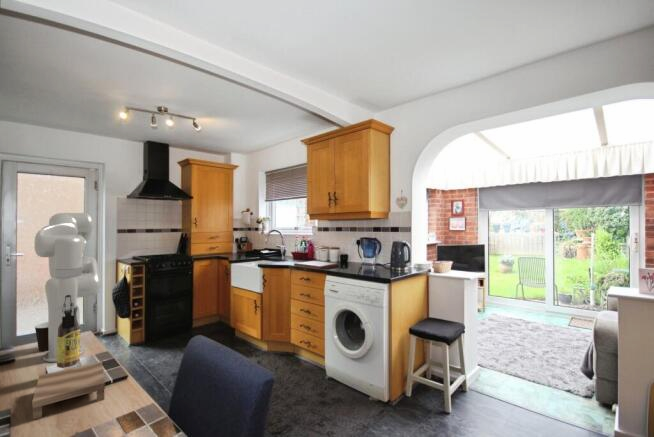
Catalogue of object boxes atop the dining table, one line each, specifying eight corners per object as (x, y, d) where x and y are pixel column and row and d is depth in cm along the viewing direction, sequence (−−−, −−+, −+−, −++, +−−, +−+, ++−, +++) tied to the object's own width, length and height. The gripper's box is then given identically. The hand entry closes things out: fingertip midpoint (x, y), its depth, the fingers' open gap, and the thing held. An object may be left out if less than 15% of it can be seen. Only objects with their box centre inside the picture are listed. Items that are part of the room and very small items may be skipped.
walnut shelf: (39, 391, 100) (39, 375, 100) (101, 375, 109) (101, 361, 109) (32, 420, 85) (32, 401, 85) (104, 399, 95) (104, 382, 95)
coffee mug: (39, 354, 126) (39, 329, 126) (31, 349, 131) (31, 325, 131) (74, 344, 136) (74, 321, 136) (66, 340, 141) (66, 317, 141)
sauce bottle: (66, 369, 106) (66, 310, 106) (51, 367, 107) (51, 309, 107) (85, 360, 112) (85, 305, 112) (70, 359, 114) (70, 304, 113)
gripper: (56, 270, 114) (56, 320, 114) (52, 278, 100) (52, 335, 101) (82, 268, 118) (82, 316, 119) (82, 276, 105) (82, 330, 105)
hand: (68, 324), depth 110 cm, fingers closed on sauce bottle, 5 cm apart
